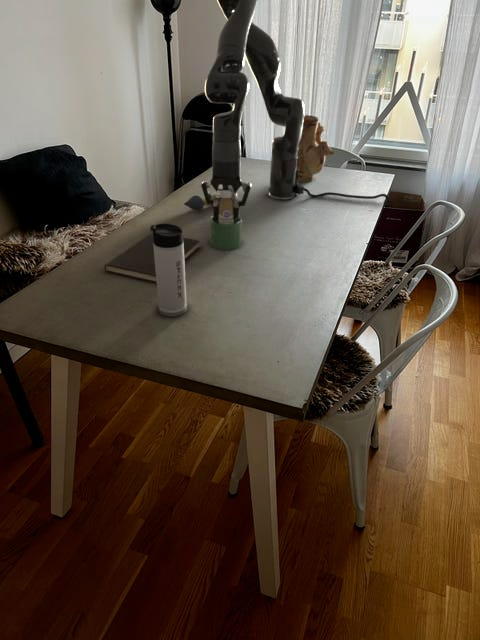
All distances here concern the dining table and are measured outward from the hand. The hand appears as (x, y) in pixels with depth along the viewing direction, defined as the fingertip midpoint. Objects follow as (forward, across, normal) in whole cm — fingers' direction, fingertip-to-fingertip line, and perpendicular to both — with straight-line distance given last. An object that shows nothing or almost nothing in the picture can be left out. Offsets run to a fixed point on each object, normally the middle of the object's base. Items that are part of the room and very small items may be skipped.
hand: (226, 218), depth 132 cm
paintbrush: (+8, +10, -29) cm, 32 cm away
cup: (+8, 0, 0) cm, 8 cm away
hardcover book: (+8, +18, +13) cm, 23 cm away
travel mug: (+8, +8, +38) cm, 39 cm away
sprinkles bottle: (+5, 0, 0) cm, 5 cm away
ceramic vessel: (+8, -25, -67) cm, 72 cm away
